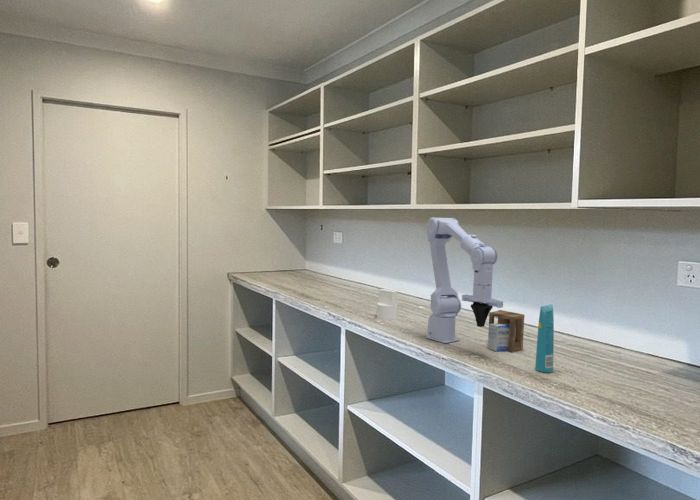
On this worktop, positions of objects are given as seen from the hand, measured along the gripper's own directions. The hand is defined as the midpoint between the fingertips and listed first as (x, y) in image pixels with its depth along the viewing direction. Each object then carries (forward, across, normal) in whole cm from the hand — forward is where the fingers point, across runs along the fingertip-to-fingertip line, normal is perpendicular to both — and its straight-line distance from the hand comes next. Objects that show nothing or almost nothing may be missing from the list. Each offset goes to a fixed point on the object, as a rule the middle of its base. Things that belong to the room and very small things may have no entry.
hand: (480, 326), depth 157 cm
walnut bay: (+9, 0, +14) cm, 17 cm away
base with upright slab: (+10, -59, +14) cm, 61 cm away
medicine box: (+10, 0, +12) cm, 15 cm away
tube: (+9, +21, +2) cm, 23 cm away
